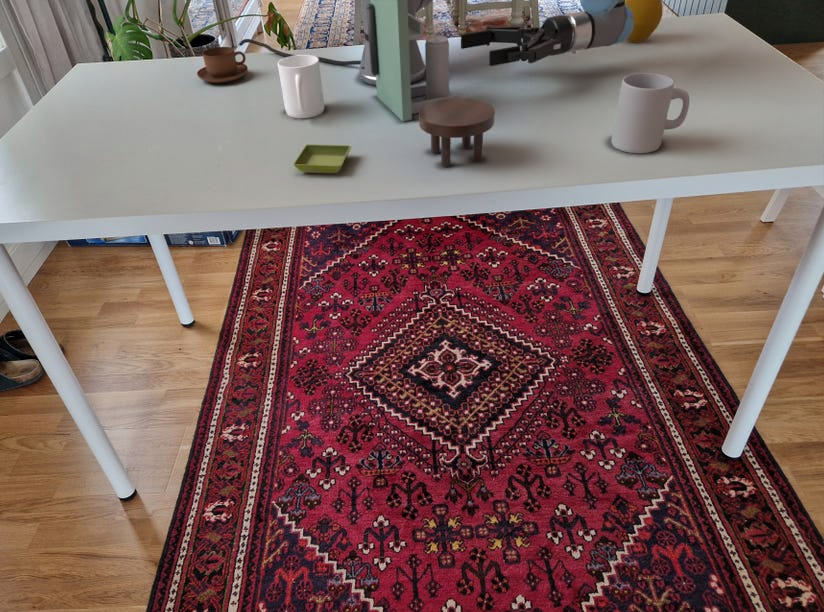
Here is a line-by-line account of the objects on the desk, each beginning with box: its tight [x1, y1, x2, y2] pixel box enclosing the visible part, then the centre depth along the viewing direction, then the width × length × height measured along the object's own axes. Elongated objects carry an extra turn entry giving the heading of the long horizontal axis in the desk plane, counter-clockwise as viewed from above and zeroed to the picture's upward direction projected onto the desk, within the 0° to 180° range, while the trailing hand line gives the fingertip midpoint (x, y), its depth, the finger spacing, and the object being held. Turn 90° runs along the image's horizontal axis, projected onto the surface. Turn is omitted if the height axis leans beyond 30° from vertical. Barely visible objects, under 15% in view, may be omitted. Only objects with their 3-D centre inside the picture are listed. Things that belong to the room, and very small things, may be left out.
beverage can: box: [424, 35, 450, 100], centre depth 133 cm, size 5×5×12 cm
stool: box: [418, 97, 496, 168], centre depth 112 cm, size 13×13×8 cm
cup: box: [277, 54, 325, 119], centre depth 131 cm, size 8×12×10 cm
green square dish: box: [293, 143, 352, 174], centre depth 114 cm, size 9×9×2 cm
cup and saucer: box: [196, 46, 248, 84], centre depth 153 cm, size 12×12×6 cm
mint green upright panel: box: [366, 0, 461, 123], centre depth 128 cm, size 16×16×22 cm
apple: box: [625, 0, 664, 43], centre depth 157 cm, size 10×10×12 cm
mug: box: [610, 72, 690, 154], centre depth 111 cm, size 12×8×11 cm
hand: (475, 49), depth 133 cm, fingers open, 13 cm apart
